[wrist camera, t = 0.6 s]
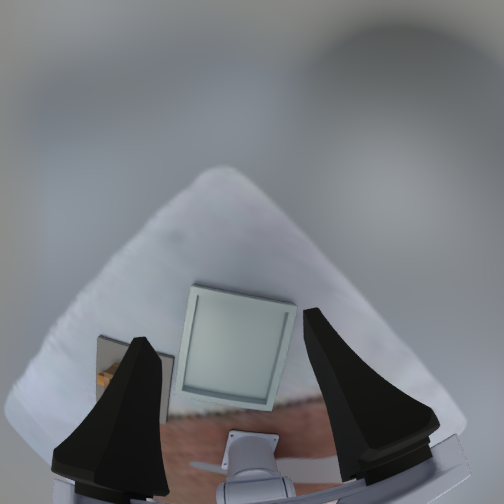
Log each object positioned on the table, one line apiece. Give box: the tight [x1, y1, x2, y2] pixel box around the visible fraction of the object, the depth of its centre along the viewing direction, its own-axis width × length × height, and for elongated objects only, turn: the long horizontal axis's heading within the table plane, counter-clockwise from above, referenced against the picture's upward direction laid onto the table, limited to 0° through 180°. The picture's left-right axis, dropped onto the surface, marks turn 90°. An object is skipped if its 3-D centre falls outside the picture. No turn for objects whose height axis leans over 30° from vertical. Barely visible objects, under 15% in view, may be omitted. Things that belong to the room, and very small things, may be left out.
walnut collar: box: [98, 363, 119, 391], centre depth 33 cm, size 6×8×4 cm
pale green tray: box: [174, 284, 298, 411], centre depth 36 cm, size 16×14×2 cm
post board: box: [96, 335, 174, 424], centre depth 33 cm, size 12×12×6 cm
